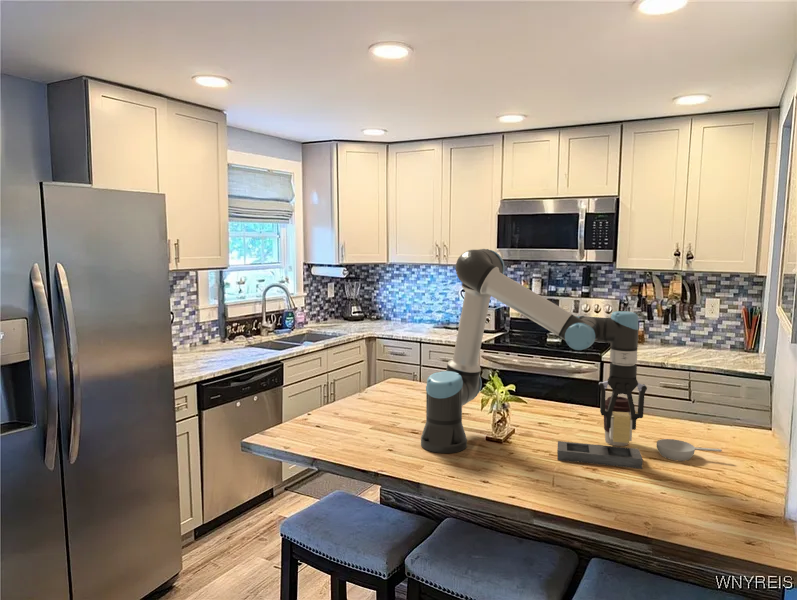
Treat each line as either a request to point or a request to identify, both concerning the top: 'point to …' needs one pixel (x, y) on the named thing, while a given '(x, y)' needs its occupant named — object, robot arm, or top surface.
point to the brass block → (621, 427)
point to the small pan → (678, 449)
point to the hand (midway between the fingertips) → (620, 438)
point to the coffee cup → (620, 406)
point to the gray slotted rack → (599, 454)
